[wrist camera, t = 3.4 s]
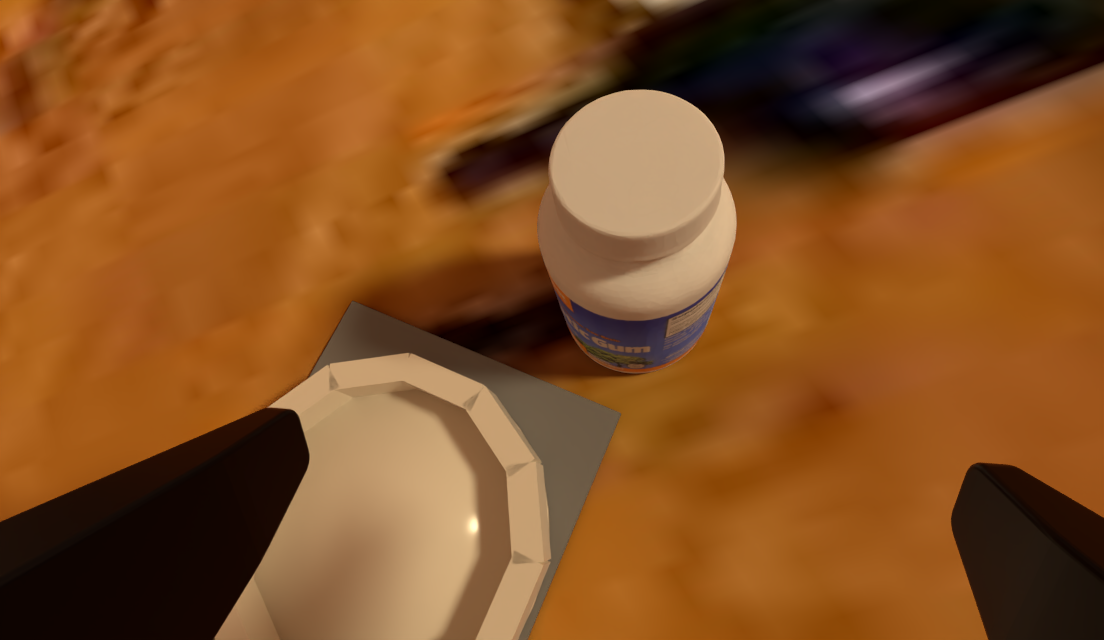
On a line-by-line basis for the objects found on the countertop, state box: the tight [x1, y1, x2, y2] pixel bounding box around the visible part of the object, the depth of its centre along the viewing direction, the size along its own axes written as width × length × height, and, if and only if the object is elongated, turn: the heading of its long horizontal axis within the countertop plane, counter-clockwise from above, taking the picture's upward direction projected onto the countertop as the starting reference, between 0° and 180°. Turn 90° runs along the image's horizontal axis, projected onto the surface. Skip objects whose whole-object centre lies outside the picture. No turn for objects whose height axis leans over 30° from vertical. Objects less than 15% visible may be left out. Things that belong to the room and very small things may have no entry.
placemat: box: [214, 301, 621, 640], centre depth 20 cm, size 20×12×1 cm, turn 155°
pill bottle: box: [537, 90, 736, 373], centre depth 17 cm, size 5×5×10 cm
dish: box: [215, 353, 551, 640], centre depth 19 cm, size 12×12×2 cm
